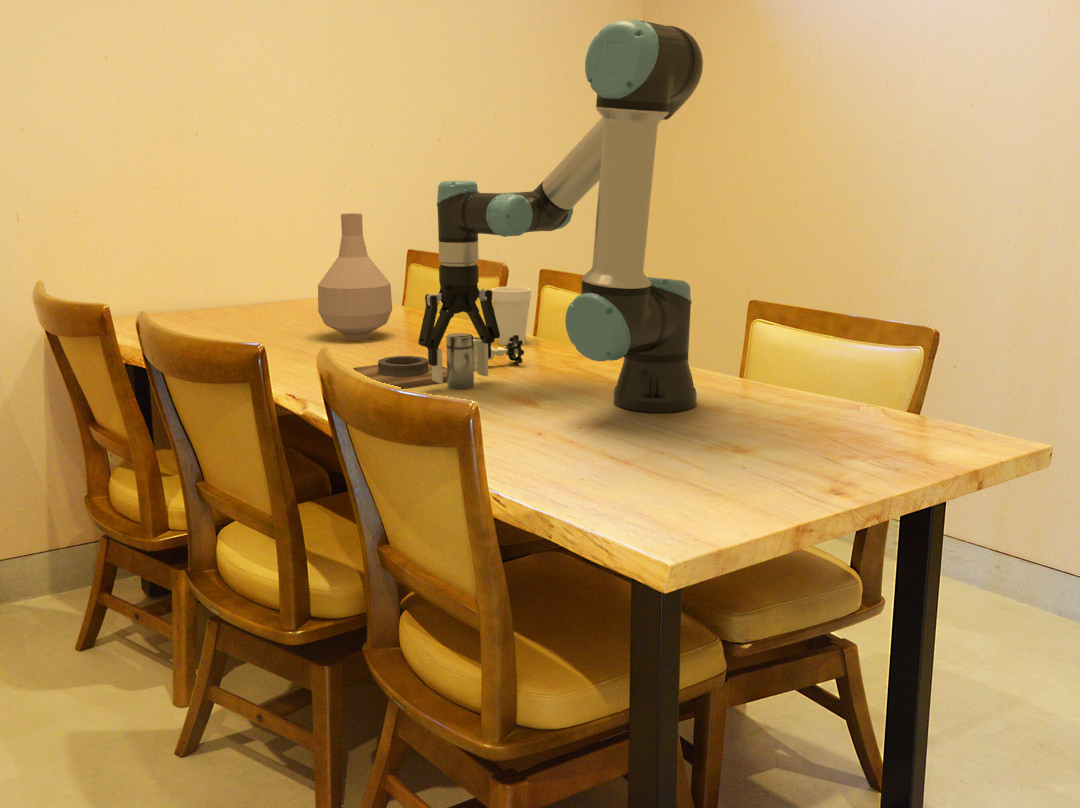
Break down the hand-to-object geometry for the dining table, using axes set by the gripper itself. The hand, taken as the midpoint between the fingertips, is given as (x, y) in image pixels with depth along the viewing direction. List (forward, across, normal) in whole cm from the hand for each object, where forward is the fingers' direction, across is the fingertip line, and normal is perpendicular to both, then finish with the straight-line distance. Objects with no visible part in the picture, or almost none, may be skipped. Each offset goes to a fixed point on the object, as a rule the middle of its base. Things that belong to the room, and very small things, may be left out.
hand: (460, 378), depth 199 cm
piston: (+2, 0, 0) cm, 2 cm away
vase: (+2, -7, -60) cm, 60 cm away
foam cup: (+2, -34, -32) cm, 47 cm away
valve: (+2, -15, -12) cm, 20 cm away
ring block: (+2, +5, -14) cm, 15 cm away
